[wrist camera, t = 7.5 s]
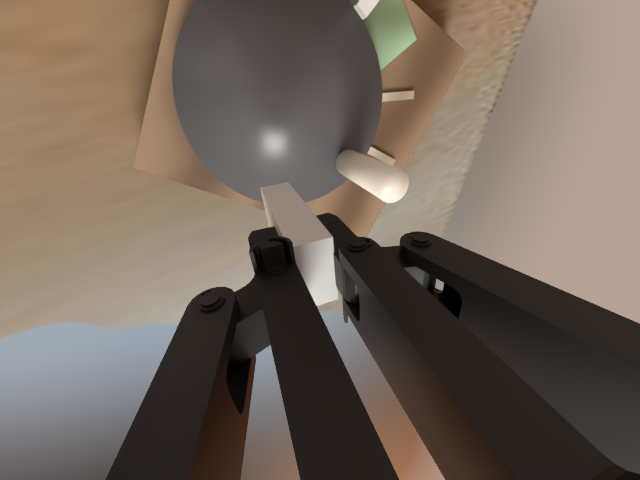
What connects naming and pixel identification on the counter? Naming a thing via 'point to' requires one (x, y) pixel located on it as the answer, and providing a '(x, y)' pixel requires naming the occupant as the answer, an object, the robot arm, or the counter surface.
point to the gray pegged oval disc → (283, 95)
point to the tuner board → (394, 125)
